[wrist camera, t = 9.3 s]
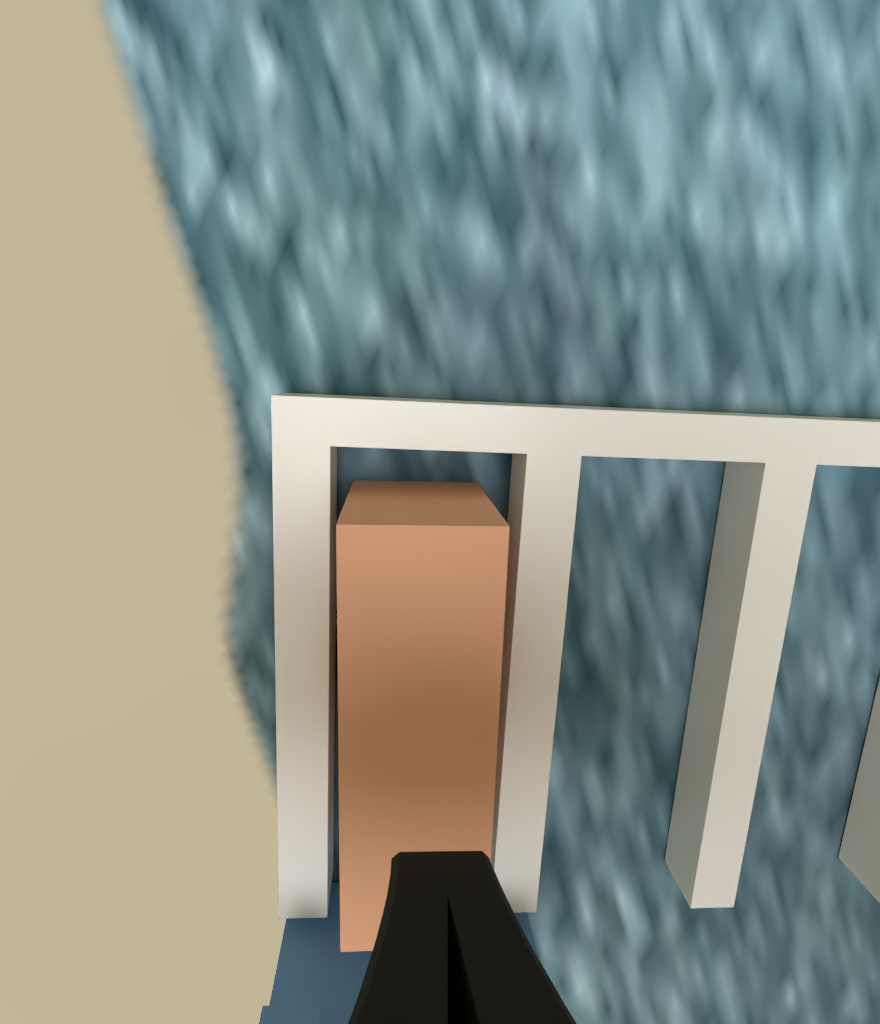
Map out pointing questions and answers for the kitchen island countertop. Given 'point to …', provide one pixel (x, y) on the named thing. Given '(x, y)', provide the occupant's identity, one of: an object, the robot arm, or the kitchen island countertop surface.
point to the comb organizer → (562, 618)
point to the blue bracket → (323, 970)
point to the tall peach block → (415, 681)
